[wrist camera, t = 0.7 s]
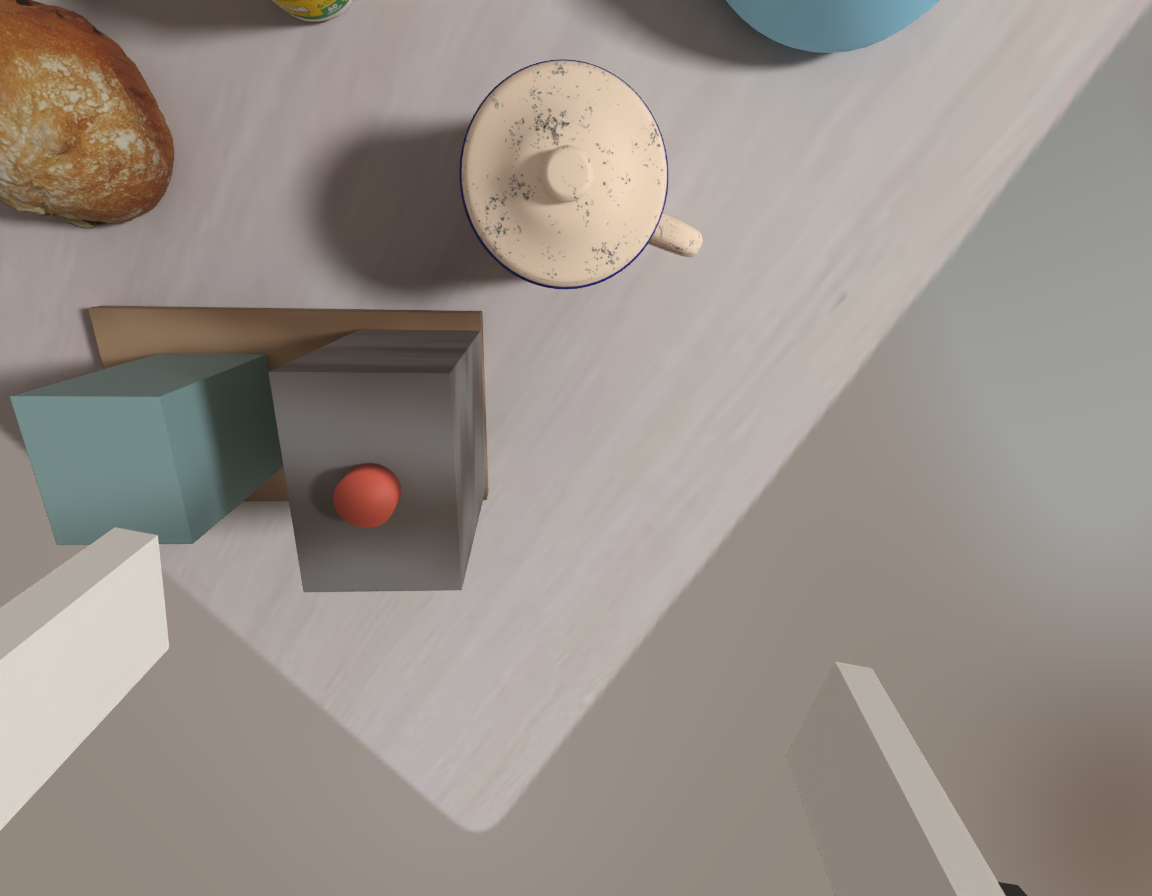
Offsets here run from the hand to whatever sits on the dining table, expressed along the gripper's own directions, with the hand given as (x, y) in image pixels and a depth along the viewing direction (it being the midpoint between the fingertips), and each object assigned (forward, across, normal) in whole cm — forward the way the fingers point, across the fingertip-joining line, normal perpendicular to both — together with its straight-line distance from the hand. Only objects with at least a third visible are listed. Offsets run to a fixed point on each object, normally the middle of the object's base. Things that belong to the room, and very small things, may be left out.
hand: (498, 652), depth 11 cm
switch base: (+25, -15, -7) cm, 30 cm away
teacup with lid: (+28, 0, +8) cm, 29 cm away
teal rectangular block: (+23, -19, -8) cm, 31 cm away
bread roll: (+26, -28, +6) cm, 38 cm away
